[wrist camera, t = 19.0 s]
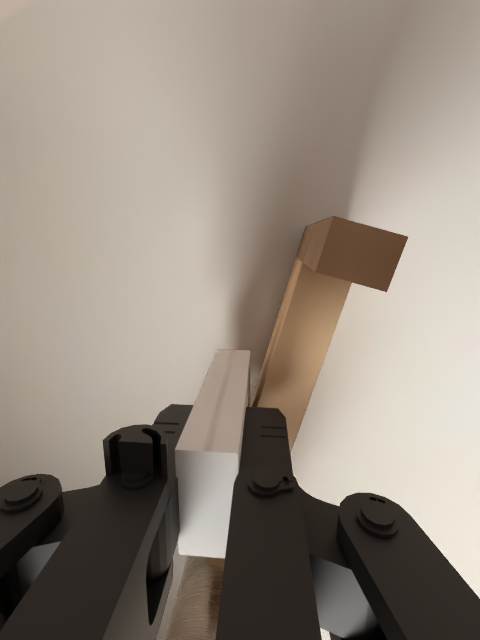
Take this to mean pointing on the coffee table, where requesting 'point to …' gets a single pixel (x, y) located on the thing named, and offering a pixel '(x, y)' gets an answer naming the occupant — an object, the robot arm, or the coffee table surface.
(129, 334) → the coffee table surface
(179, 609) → the hinge post
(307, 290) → the gate
